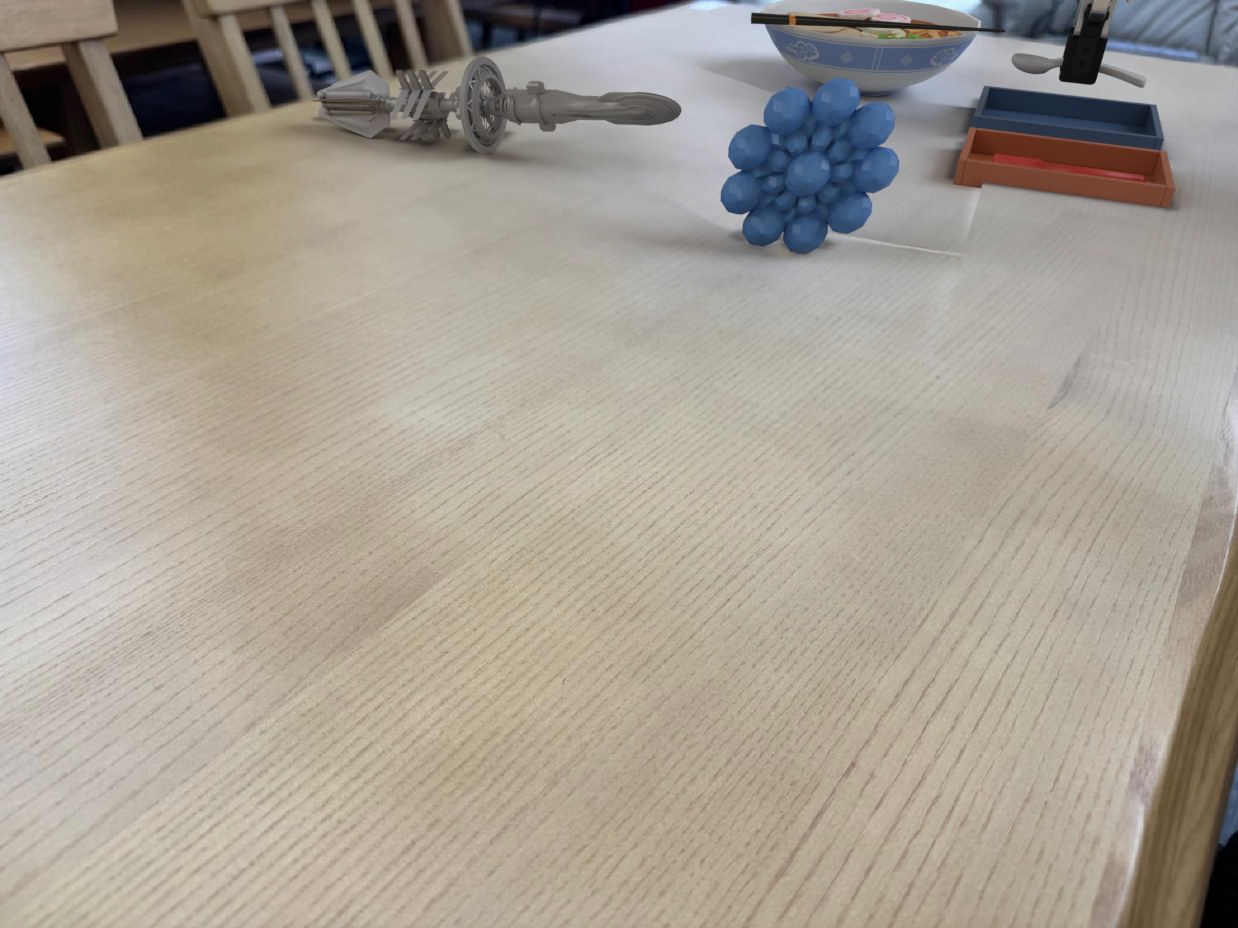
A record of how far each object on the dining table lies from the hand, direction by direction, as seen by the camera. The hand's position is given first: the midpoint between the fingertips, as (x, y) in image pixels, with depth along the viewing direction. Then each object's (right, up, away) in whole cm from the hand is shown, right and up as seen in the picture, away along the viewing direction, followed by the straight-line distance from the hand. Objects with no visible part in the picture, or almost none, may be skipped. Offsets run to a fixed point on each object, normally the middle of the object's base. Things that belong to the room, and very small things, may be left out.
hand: (1076, 76), depth 92 cm
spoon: (0, 0, 0) cm, 0 cm away
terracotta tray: (-6, -12, -8) cm, 16 cm away
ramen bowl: (-16, +5, +16) cm, 24 cm away
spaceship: (-54, -9, -5) cm, 55 cm away
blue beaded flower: (-30, -21, -21) cm, 42 cm away
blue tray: (0, -4, +3) cm, 5 cm away
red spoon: (-6, -12, -9) cm, 16 cm away
